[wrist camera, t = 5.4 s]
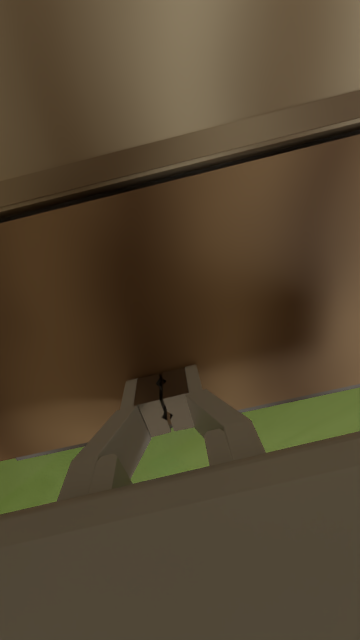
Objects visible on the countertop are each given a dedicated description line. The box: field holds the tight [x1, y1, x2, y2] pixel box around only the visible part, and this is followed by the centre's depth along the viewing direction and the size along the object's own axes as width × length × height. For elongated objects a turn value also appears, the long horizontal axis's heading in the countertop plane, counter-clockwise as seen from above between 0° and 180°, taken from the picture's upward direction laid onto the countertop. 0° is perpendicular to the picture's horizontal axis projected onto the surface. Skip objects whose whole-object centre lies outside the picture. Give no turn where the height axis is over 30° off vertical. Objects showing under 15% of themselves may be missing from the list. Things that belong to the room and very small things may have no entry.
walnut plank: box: [0, 134, 360, 461], centre depth 9 cm, size 22×10×2 cm, turn 103°
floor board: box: [0, 0, 360, 461], centre depth 9 cm, size 23×22×3 cm
